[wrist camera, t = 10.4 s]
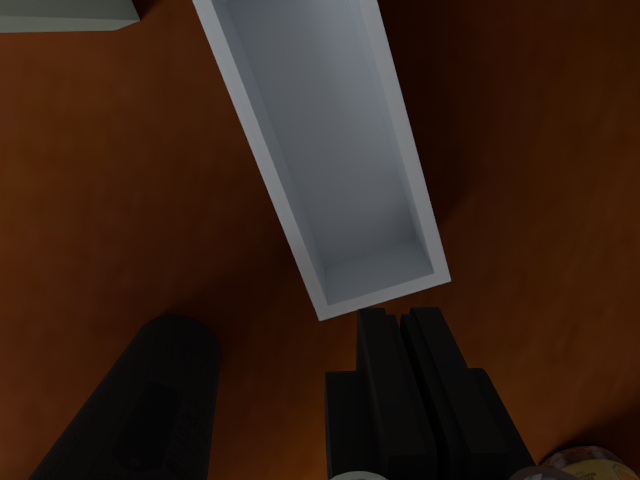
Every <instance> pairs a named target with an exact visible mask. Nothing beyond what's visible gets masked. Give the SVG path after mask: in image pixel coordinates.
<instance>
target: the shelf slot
mask: <svg viewBox="0 0 640 480" xmlns="http://www.w3.org/2000/svg"><path fill="white" fill-rule="evenodd" d="M138 21H140V18H139V16H138V14H137V12H136V9H135V7H134V5H133V2H132V0H0V33H6V32H56V31H106V30H117V29H120V28H122V27H125V26H128V25H130V24H133V23H136V22H138Z"/></svg>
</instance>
